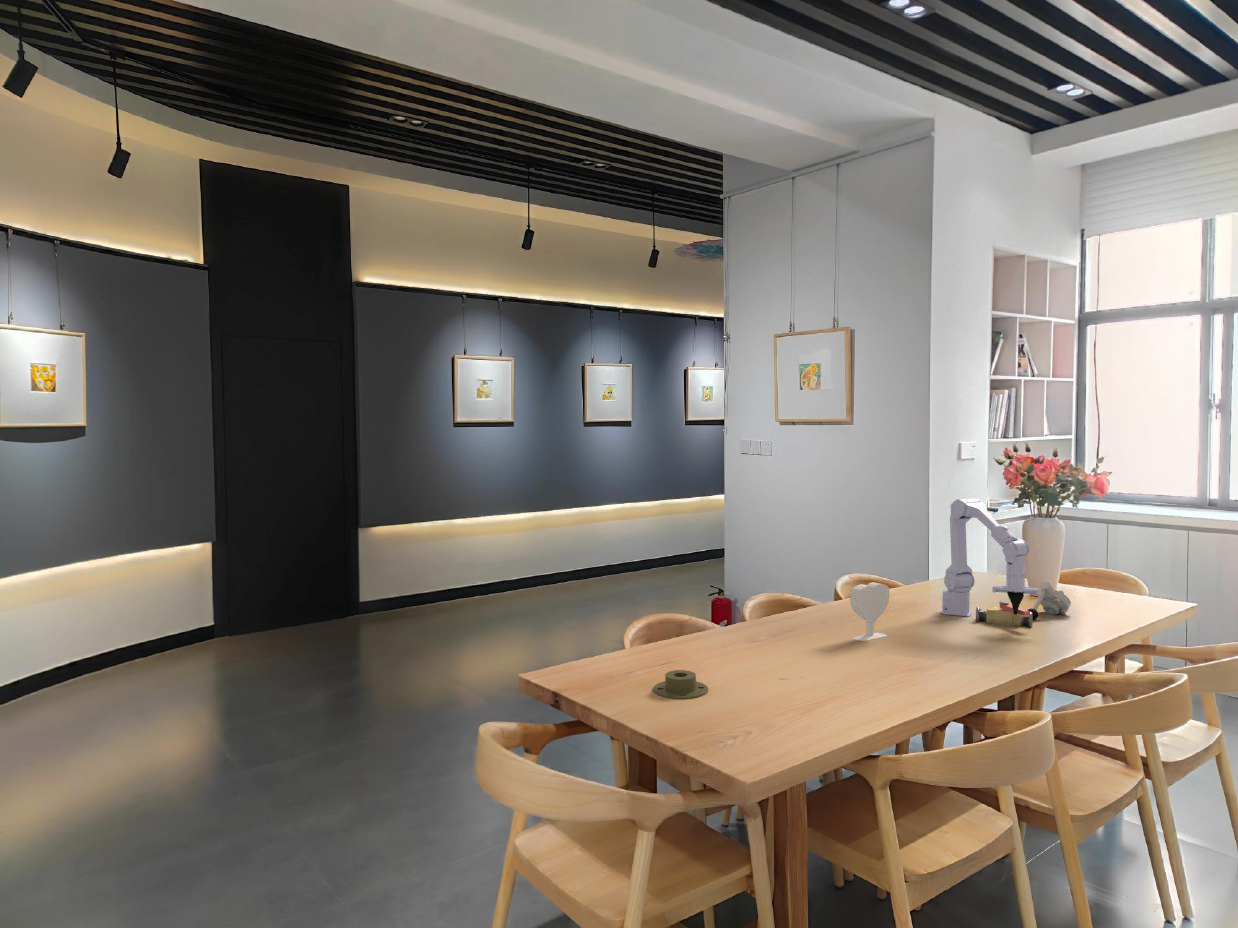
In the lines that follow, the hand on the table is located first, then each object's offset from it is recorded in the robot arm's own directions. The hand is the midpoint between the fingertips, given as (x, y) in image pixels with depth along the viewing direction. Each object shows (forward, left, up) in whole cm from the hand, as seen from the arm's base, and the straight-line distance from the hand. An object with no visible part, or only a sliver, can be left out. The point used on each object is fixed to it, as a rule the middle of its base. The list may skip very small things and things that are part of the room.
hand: (1015, 613), depth 281 cm
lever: (-1, +4, 0) cm, 4 cm away
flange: (-75, -111, -6) cm, 134 cm away
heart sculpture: (-42, -32, -6) cm, 53 cm away
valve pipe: (-4, +8, -7) cm, 11 cm away
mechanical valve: (+8, +26, -6) cm, 28 cm away
